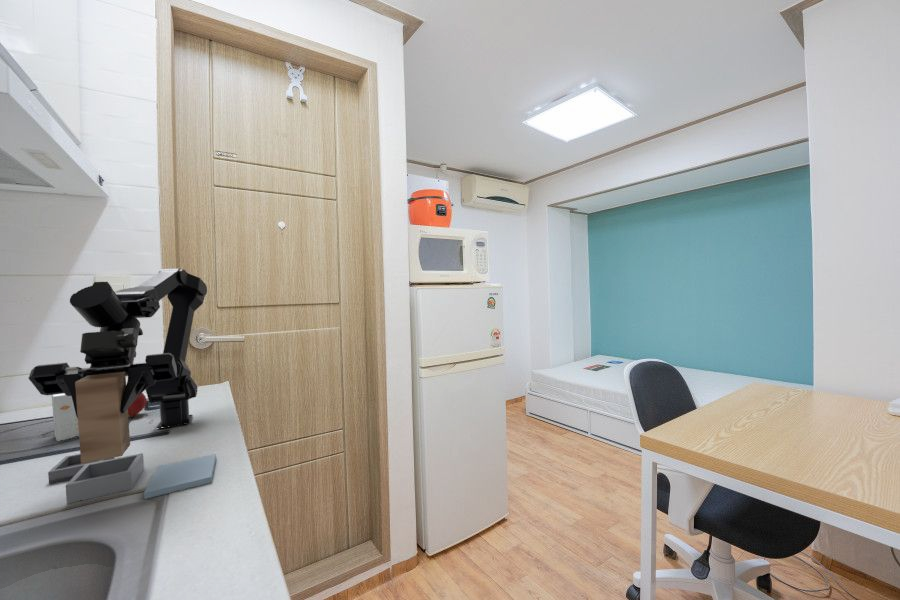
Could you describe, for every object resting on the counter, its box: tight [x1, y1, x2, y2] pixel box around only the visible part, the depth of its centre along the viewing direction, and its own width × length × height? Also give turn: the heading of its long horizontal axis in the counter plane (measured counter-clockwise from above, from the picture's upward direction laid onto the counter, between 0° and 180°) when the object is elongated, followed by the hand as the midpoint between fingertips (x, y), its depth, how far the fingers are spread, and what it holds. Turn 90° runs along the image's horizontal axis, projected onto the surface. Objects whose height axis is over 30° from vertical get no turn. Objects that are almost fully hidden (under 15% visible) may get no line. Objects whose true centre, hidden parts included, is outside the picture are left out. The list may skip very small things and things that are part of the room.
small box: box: [51, 393, 79, 442], centre depth 85 cm, size 8×6×10 cm
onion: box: [128, 392, 147, 417], centre depth 96 cm, size 6×6×8 cm
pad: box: [143, 453, 217, 500], centre depth 64 cm, size 10×9×1 cm
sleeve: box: [65, 452, 145, 505], centre depth 62 cm, size 8×8×3 cm
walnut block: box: [75, 372, 131, 464], centre depth 61 cm, size 5×5×14 cm
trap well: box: [47, 453, 116, 484], centre depth 67 cm, size 7×7×2 cm
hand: (101, 415), depth 60 cm, fingers closed on walnut block, 5 cm apart
